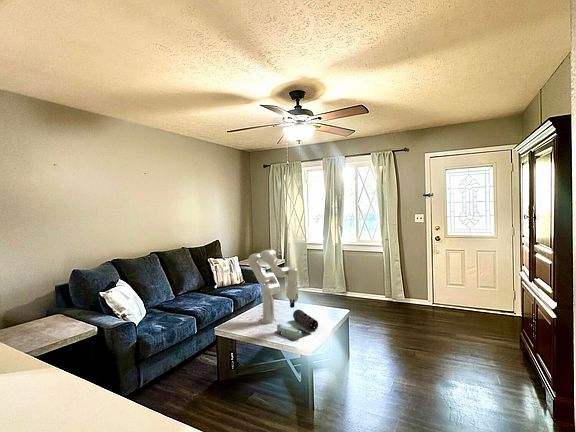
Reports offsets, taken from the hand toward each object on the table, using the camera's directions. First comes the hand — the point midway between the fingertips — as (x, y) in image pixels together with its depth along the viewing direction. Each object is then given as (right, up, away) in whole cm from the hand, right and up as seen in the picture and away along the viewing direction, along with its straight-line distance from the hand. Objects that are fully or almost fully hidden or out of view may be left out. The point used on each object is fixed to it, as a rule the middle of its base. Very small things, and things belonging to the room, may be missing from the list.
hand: (292, 307), depth 246 cm
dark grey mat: (0, -18, -9) cm, 20 cm away
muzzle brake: (+10, -18, +7) cm, 22 cm away
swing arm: (-3, -16, -13) cm, 21 cm away
